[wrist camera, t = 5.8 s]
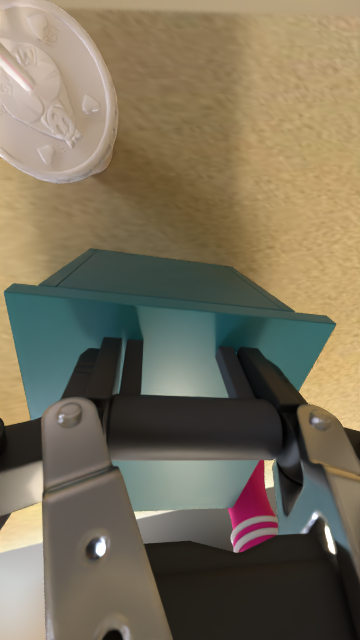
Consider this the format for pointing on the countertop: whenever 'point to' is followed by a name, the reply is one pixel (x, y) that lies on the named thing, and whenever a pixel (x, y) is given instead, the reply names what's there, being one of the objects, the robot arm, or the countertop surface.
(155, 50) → the countertop surface
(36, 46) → the smoothie
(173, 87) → the countertop surface
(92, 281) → the cool box
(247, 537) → the pepper mill
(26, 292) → the lid
